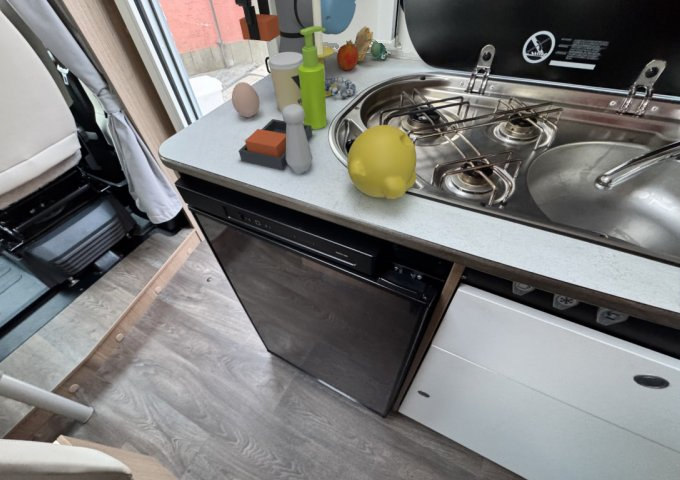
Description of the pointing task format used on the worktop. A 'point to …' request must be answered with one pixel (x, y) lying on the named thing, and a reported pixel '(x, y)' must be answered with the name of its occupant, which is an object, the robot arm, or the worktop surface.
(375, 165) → the sculpture
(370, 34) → the cartoon bug character
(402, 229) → the worktop surface
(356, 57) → the fruit
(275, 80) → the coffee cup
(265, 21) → the loose pad
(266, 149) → the seated pad
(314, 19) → the yellow disc white stick
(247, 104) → the egg
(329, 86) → the bracelet
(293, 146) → the salt shaker
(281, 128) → the pad frame
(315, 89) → the soap dispenser
